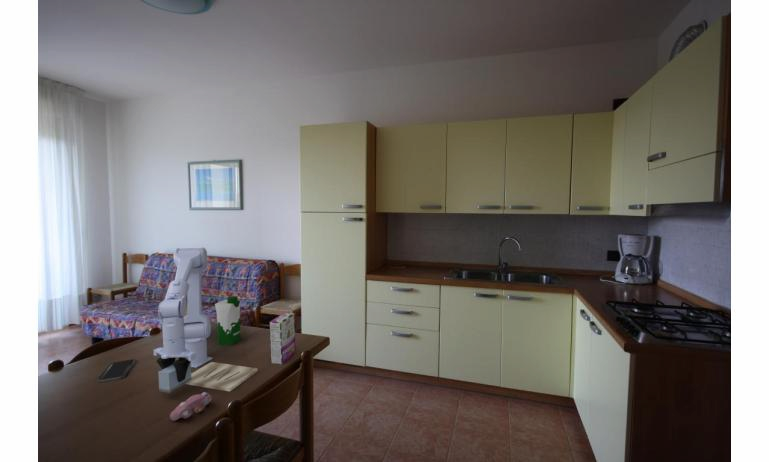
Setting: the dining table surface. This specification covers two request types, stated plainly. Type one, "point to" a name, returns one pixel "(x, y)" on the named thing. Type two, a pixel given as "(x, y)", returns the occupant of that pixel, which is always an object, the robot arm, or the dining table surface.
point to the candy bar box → (282, 338)
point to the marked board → (221, 376)
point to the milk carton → (228, 321)
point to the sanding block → (171, 379)
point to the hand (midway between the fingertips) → (175, 379)
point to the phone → (116, 370)
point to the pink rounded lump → (191, 406)
